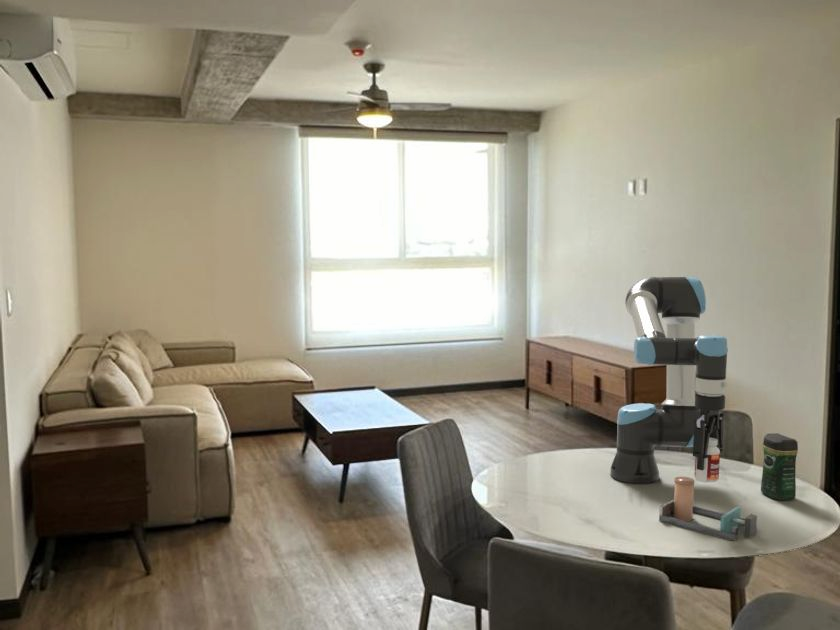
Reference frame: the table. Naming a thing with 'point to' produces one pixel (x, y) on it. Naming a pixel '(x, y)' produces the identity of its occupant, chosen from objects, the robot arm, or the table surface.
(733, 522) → the pusher plate
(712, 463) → the pill bottle
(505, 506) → the table surface
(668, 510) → the grey rail frame
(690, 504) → the tan rounded cylinder
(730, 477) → the table surface
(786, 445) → the coffee jar
